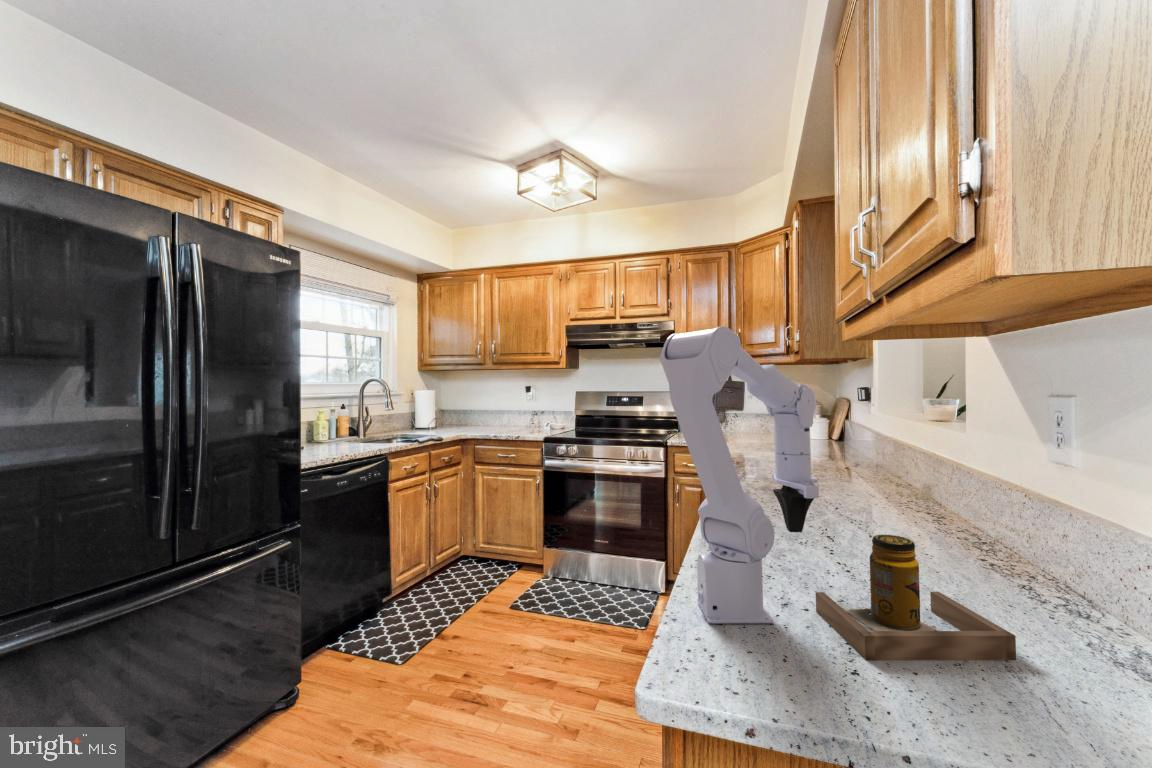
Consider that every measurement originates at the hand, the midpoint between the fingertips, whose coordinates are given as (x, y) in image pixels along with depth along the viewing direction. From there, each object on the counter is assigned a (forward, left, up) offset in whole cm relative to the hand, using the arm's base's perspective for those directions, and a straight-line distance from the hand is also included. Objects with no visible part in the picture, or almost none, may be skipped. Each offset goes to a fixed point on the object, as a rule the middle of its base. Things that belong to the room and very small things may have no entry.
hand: (794, 531), depth 83 cm
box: (+8, -17, -9) cm, 21 cm away
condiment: (+8, -13, -10) cm, 18 cm away
